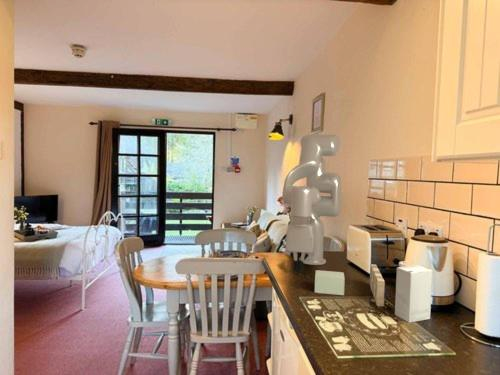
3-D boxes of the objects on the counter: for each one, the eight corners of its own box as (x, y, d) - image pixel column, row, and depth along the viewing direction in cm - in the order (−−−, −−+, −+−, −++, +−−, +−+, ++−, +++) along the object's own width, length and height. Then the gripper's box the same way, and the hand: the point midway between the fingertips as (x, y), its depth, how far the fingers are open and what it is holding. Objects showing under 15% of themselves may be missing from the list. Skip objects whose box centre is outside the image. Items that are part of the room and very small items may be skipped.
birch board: (369, 285, 134) (370, 264, 133) (375, 285, 133) (376, 264, 133) (376, 305, 112) (378, 281, 112) (383, 306, 112) (384, 281, 112)
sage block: (315, 285, 131) (315, 270, 131) (342, 288, 129) (343, 272, 129) (314, 292, 124) (315, 276, 123) (344, 295, 121) (344, 278, 121)
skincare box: (415, 312, 108) (417, 264, 107) (431, 320, 102) (434, 269, 102) (393, 315, 105) (395, 266, 104) (408, 323, 99) (411, 271, 99)
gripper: (321, 221, 130) (319, 270, 130) (281, 218, 133) (279, 267, 134) (321, 223, 123) (319, 275, 123) (278, 220, 126) (276, 271, 126)
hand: (298, 271), depth 128 cm, fingers closed
